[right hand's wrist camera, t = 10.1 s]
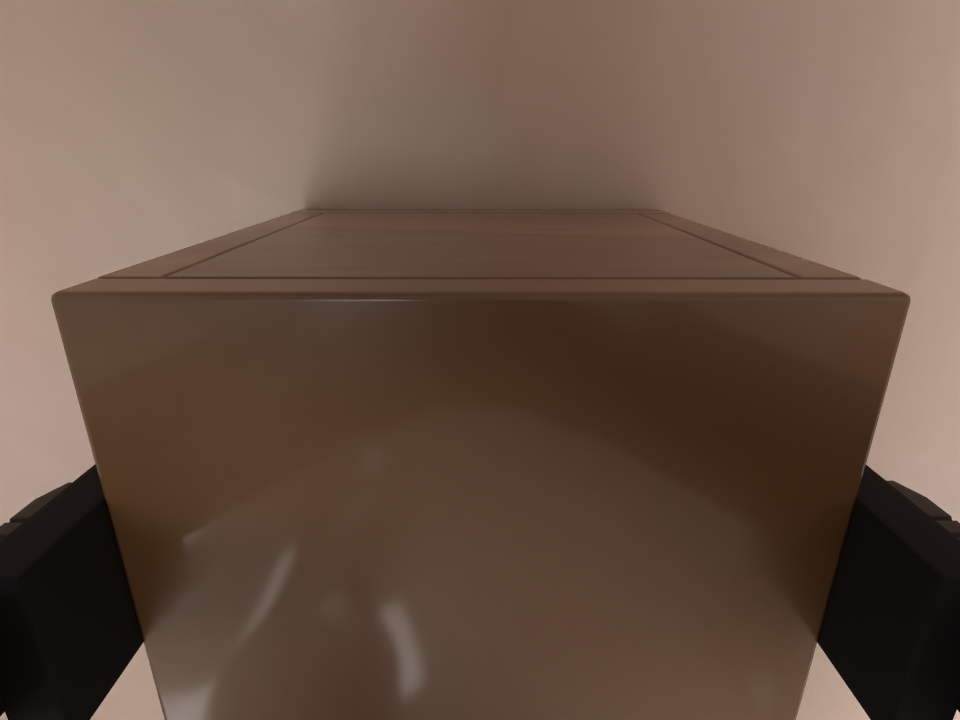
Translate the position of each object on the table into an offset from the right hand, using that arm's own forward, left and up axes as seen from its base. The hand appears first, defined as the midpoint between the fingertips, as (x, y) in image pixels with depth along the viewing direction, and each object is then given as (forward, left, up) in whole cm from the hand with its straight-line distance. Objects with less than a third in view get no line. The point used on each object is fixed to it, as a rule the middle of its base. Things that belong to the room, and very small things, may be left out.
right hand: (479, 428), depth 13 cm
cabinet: (+5, +3, -6) cm, 8 cm away
